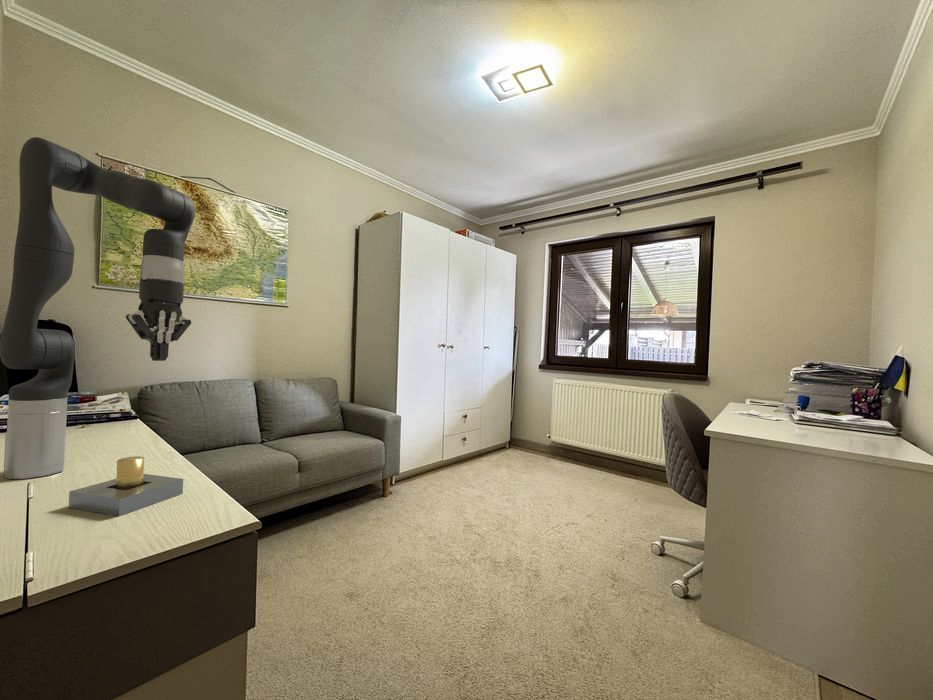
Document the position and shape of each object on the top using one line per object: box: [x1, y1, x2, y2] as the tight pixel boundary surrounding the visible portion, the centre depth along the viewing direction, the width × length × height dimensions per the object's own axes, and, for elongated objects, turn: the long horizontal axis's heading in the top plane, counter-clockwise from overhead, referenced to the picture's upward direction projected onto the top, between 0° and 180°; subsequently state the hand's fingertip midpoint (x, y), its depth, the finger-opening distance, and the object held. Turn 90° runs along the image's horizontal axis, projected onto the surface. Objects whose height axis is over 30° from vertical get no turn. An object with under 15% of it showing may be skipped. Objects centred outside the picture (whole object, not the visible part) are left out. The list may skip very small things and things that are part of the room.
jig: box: [68, 473, 184, 517], centre depth 76 cm, size 12×12×3 cm
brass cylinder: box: [115, 455, 145, 490], centre depth 76 cm, size 4×4×8 cm
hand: (158, 360), depth 84 cm, fingers closed
